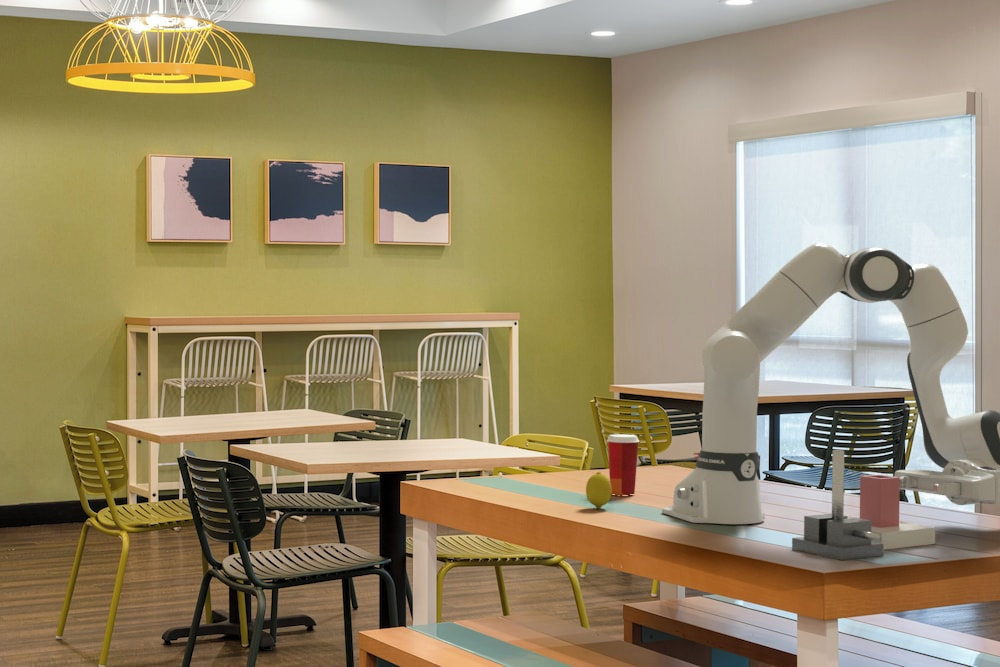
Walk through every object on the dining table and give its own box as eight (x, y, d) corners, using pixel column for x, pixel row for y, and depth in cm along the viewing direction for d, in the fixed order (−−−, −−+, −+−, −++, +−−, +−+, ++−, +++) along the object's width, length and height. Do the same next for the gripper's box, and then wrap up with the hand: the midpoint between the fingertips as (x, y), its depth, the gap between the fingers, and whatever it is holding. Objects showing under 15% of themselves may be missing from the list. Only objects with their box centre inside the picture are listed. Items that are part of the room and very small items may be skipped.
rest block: (824, 537, 233) (824, 522, 233) (876, 532, 240) (876, 517, 240) (881, 549, 221) (881, 533, 221) (934, 543, 228) (935, 527, 228)
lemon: (601, 511, 263) (601, 474, 263) (580, 508, 267) (581, 471, 267) (616, 508, 267) (616, 472, 267) (596, 506, 271) (596, 469, 271)
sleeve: (859, 523, 231) (860, 475, 231) (878, 521, 234) (879, 474, 234) (880, 527, 227) (880, 478, 227) (899, 525, 229) (899, 477, 229)
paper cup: (639, 493, 293) (640, 434, 293) (637, 497, 286) (638, 437, 286) (607, 492, 295) (607, 433, 295) (604, 496, 287) (604, 436, 287)
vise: (792, 549, 220) (793, 448, 220) (832, 544, 226) (833, 446, 225) (858, 563, 207) (859, 457, 207) (899, 558, 212) (900, 454, 212)
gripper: (922, 461, 251) (874, 464, 244) (1008, 471, 233) (959, 475, 226) (922, 492, 251) (873, 496, 244) (1008, 504, 233) (959, 509, 226)
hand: (915, 486), depth 235 cm, fingers open, 8 cm apart
